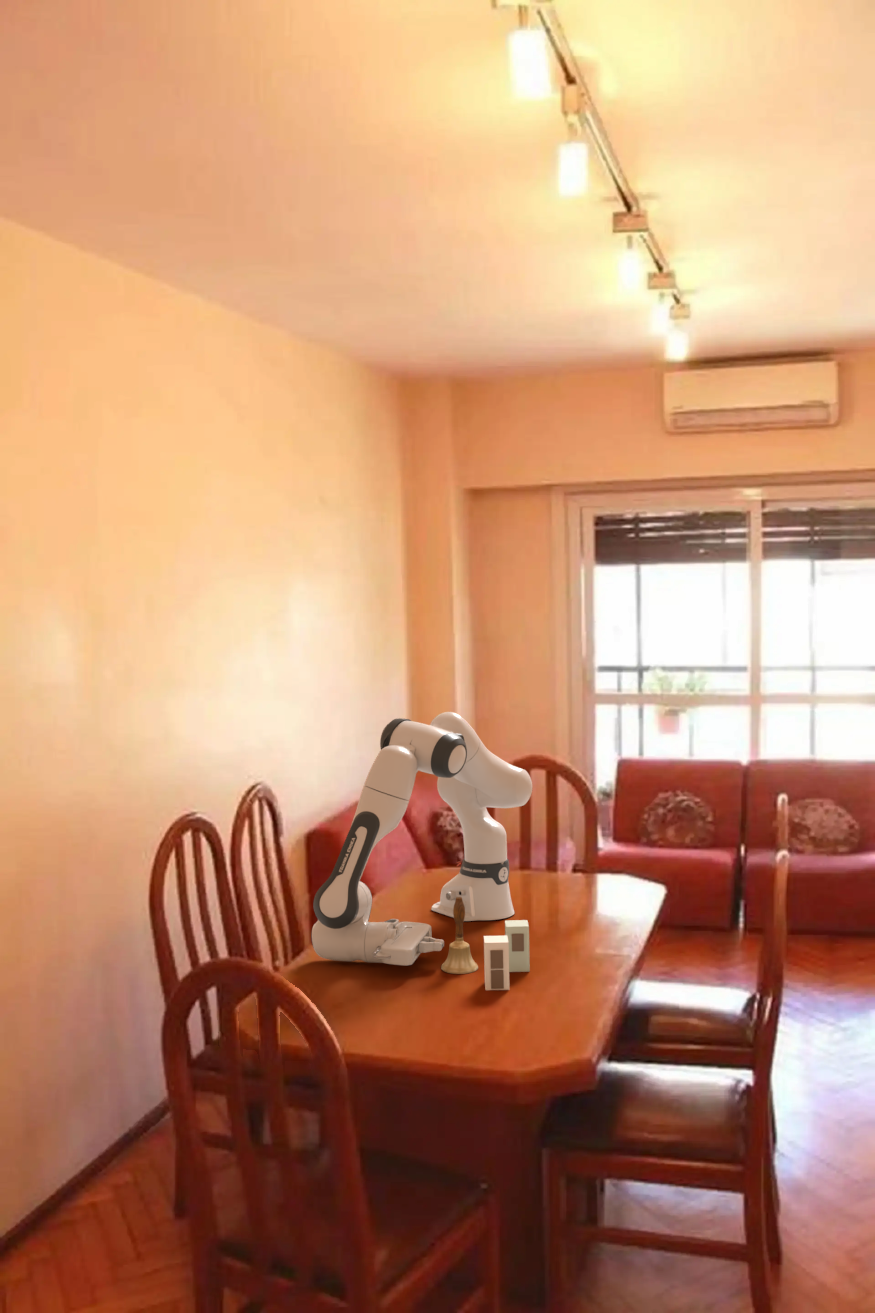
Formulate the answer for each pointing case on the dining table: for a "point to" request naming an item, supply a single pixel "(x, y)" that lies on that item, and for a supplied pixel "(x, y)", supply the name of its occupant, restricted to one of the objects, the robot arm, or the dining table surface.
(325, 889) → the robot arm
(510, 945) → the sage block marked
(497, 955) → the cream block marked
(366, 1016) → the dining table surface
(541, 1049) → the dining table surface
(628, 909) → the dining table surface
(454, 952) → the hand bell
